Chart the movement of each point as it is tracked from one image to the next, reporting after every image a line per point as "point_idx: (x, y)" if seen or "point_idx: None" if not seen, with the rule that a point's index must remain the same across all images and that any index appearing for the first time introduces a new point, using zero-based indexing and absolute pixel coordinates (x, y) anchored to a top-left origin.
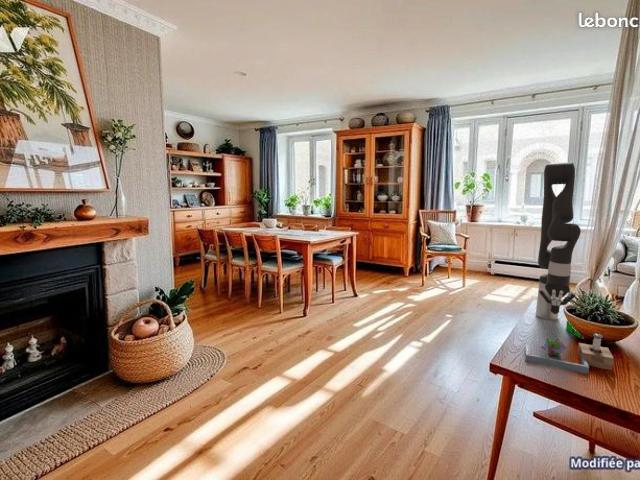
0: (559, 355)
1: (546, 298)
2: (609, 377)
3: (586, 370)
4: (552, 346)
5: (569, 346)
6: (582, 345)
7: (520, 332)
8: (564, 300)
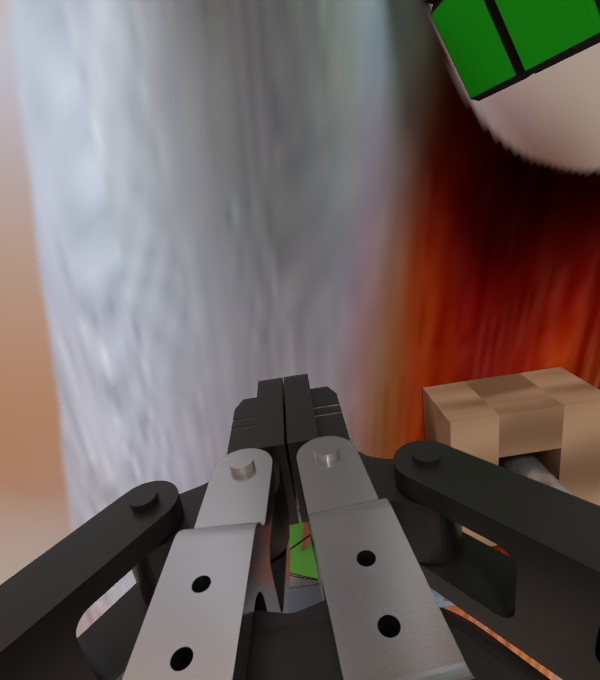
0: None
1: (116, 671)
2: None
3: None
4: (301, 577)
5: (387, 303)
6: (466, 452)
7: (68, 246)
8: (463, 504)
